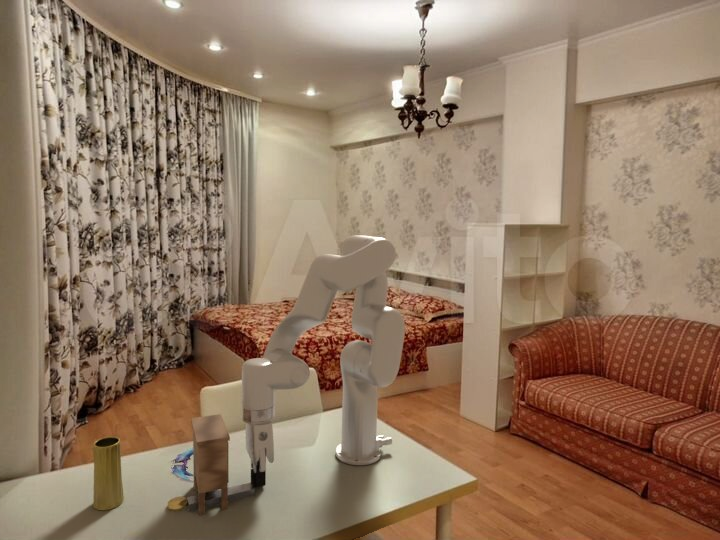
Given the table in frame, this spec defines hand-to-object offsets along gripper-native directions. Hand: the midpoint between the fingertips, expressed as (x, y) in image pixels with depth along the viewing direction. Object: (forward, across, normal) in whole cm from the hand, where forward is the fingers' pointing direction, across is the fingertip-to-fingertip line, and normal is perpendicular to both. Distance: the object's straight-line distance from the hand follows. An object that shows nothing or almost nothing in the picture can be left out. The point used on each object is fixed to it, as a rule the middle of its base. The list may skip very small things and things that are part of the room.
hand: (258, 485), depth 115 cm
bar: (+1, -2, +9) cm, 9 cm away
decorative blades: (+1, +18, +15) cm, 24 cm away
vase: (+1, +6, +32) cm, 33 cm away
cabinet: (0, 0, +11) cm, 11 cm away
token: (+1, -1, +18) cm, 18 cm away
